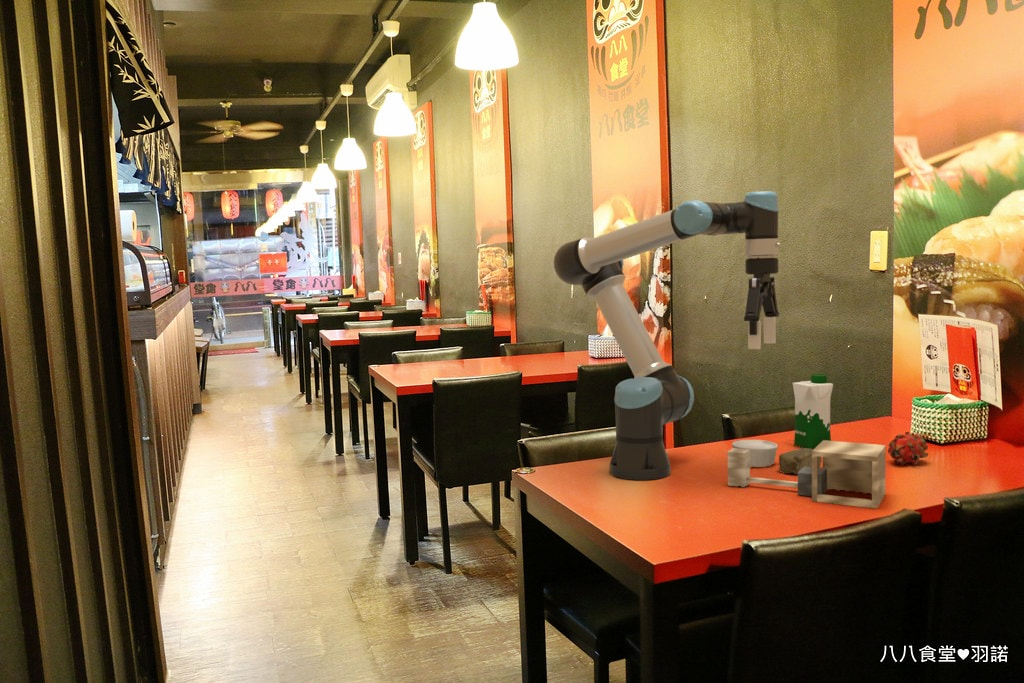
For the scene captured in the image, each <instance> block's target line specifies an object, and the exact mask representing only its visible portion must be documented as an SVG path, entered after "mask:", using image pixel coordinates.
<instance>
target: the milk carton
mask: <svg viewBox="0 0 1024 683" xmlns="http://www.w3.org/2000/svg"><path fill="white" fill-rule="evenodd" d="M791 383H792V388H793V394H794V441H793V442H794V443H793V445H794V446H795V445H797V446H796V447H798V446H800V447H799V448H801V447H803V448H809V449H815V448H816V447H817V446H818V445H819V444H820V443H821V442H822V441H823V440H827V441H832V438H831V437H832V435H831V397H832V392H833V389H834V384H833V383H831V382H828V381H827V374H821V373H820V374H818V373H816V374H814V373H813V374H811V375H810V380H805V381H798V382H791ZM803 448H802V449H803Z"/></svg>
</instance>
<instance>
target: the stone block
mask: <svg viewBox="0 0 1024 683" xmlns="http://www.w3.org/2000/svg"><path fill="white" fill-rule="evenodd" d="M813 450H814V449H809V448H796V449H793V450H789V451H787V452H784V453H779V455H778V461H779V467H778V470H779V472H780V471H781V472H780V473H783V472H784V473H783V474H786V473H790V474H791V475H792V474H793V473H794V474H795V475H798V472H799V471H800V470H801V469H802V468H803V467H812V451H813ZM822 460H823V457H820V456H818V468H821V467H822V465H821V464H822ZM790 474H789V475H790ZM794 474H793V475H794Z"/></svg>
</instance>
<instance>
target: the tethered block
mask: <svg viewBox="0 0 1024 683" xmlns="http://www.w3.org/2000/svg"><path fill="white" fill-rule="evenodd" d="M750 473H751V467H750V450H747V449H736V448H731V449H729V450H728V451H727V486H731V487H738V486H741V487H740V488H746V487H747V486H748V485H749V483H750V484H759V485H760V484H762V485H772V486H781V487H789V488H795V489H797V496H806V497H812V467H803V468H802V469H801V470H800V471H799V472H798V474H797V481H789V480H782V479H781V480H780V479H774V478H773V479H772V478H763V477H754V476H751V474H750ZM745 486H746V487H745ZM827 491H828V489H827V469H824V468H823V467H822V468H821V467H820V468H818V494H825V493H826V492H827ZM825 495H826V494H825Z"/></svg>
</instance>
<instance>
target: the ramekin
mask: <svg viewBox="0 0 1024 683" xmlns="http://www.w3.org/2000/svg"><path fill="white" fill-rule="evenodd" d="M731 447H732V448H736V449H747V450H750V466H751V467H750V468H752V467H763V468H766V467H765V466H769V467H771V466H770V465H772V464H773V465H774V463H775V462H776V455H777V450H778V447H779V446H778V444H777V443H776V442H773V441H768V440H763V439H740V440H736V441H733V442H732V444H731ZM732 448H731V449H732ZM773 465H772V466H773Z"/></svg>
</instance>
